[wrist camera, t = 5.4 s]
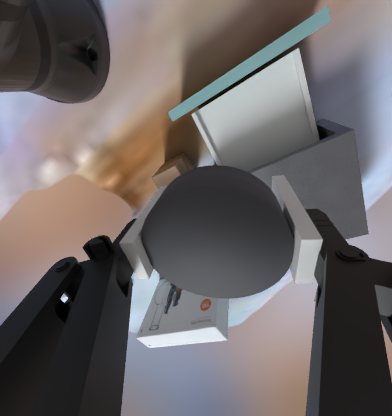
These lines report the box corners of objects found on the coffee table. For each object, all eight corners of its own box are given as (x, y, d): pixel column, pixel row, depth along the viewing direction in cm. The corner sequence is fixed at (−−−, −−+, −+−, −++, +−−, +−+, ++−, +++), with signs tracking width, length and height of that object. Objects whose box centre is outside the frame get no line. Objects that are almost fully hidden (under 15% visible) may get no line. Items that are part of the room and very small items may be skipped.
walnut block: (164, 162, 34) (151, 178, 29) (184, 151, 33) (175, 165, 27) (177, 182, 36) (167, 201, 30) (197, 173, 34) (190, 190, 29)
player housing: (212, 170, 34) (207, 191, 27) (323, 119, 27) (353, 129, 20) (245, 233, 40) (248, 262, 34) (341, 204, 33) (368, 233, 27)
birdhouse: (179, 107, 29) (167, 112, 23) (303, 25, 22) (328, 5, 16) (222, 188, 35) (221, 208, 29) (328, 145, 28) (352, 159, 23)
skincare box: (220, 258, 46) (215, 327, 33) (230, 272, 48) (230, 341, 35) (157, 278, 55) (134, 339, 42) (168, 289, 57) (150, 350, 44)
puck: (172, 265, 14) (162, 295, 12) (141, 172, 10) (119, 193, 8) (278, 266, 13) (287, 301, 11) (287, 156, 9) (304, 178, 7)
